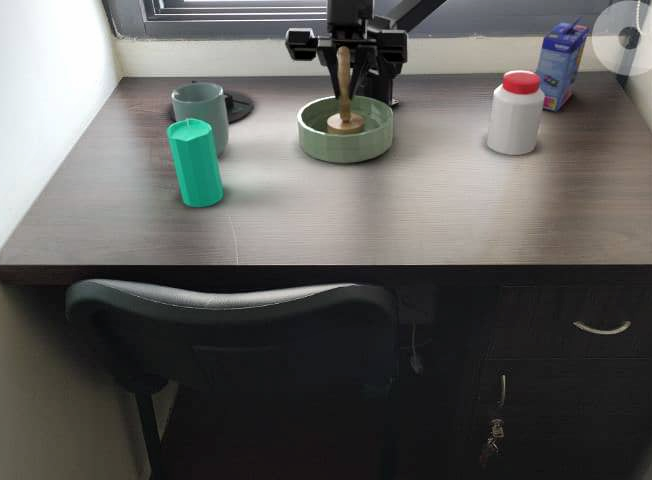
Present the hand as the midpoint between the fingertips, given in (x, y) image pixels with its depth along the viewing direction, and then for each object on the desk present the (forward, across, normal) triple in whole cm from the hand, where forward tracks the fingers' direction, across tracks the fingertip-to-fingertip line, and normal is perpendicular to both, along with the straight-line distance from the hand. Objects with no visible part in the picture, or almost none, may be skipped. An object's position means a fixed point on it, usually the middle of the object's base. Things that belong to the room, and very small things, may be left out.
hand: (343, 99), depth 93 cm
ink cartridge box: (-9, +36, +21) cm, 43 cm away
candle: (+18, -19, -6) cm, 27 cm away
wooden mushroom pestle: (+4, 0, +6) cm, 7 cm away
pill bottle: (+3, +27, +8) cm, 28 cm away
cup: (+8, -22, +3) cm, 24 cm away
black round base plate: (-3, -26, +14) cm, 30 cm away
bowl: (+5, 0, +7) cm, 8 cm away
